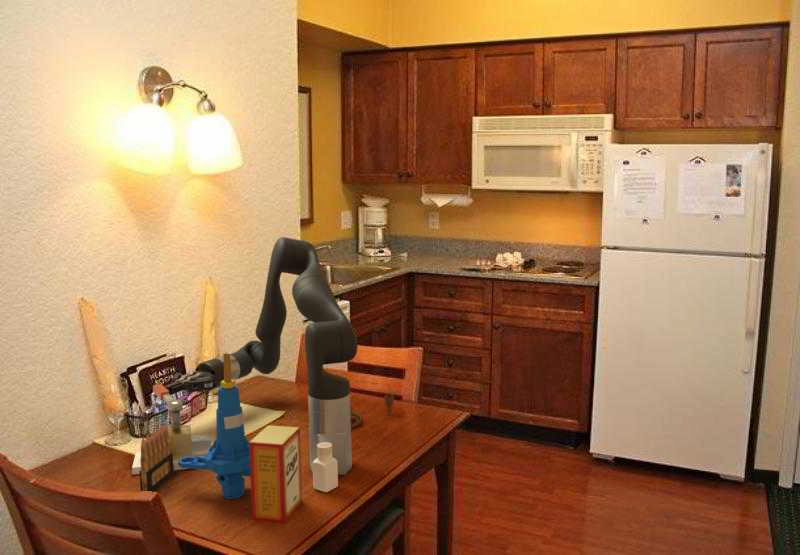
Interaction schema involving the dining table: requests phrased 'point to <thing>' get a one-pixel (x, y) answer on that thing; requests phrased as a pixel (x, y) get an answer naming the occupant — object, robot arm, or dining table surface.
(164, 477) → the ammunition clip
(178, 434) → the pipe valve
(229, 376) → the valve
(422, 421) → the dining table surface
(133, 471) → the mounting board
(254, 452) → the baking soda box
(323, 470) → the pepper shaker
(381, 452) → the dining table surface
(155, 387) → the valve lever
